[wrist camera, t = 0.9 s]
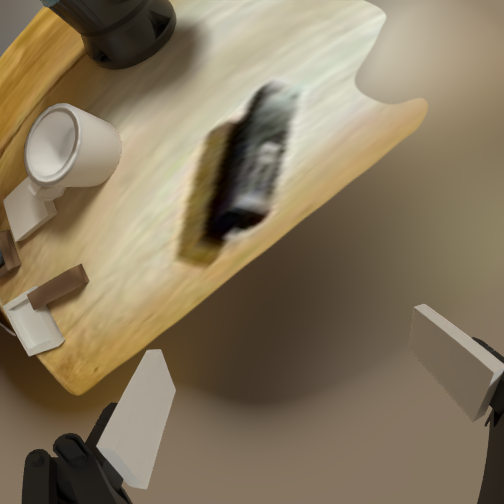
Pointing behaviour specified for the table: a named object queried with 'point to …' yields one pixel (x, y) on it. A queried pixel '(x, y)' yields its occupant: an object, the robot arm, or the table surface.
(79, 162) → the mug
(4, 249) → the socket block
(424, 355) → the robot arm
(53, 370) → the table surface
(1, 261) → the dowel
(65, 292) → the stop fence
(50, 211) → the white flat block
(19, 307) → the tray
